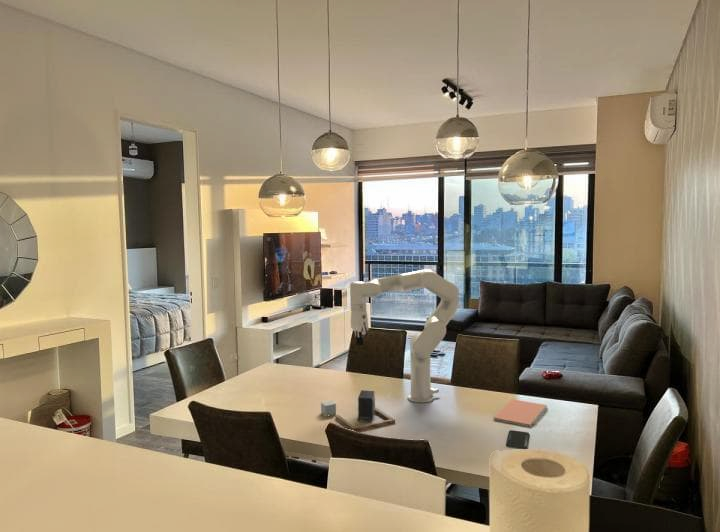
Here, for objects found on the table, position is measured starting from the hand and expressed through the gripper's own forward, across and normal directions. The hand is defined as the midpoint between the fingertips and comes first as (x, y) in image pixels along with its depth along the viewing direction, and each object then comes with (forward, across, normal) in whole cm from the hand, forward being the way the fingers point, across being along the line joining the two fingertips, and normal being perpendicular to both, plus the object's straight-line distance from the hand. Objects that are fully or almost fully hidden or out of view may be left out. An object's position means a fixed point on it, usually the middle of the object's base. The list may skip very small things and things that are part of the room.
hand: (359, 344), depth 250 cm
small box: (+27, -22, +9) cm, 36 cm away
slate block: (+27, -10, +22) cm, 36 cm away
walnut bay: (+27, -25, +12) cm, 39 cm away
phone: (+28, -74, -29) cm, 84 cm away
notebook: (+28, -54, -51) cm, 80 cm away
